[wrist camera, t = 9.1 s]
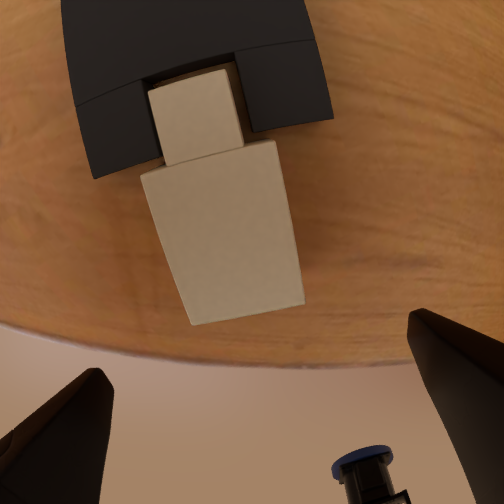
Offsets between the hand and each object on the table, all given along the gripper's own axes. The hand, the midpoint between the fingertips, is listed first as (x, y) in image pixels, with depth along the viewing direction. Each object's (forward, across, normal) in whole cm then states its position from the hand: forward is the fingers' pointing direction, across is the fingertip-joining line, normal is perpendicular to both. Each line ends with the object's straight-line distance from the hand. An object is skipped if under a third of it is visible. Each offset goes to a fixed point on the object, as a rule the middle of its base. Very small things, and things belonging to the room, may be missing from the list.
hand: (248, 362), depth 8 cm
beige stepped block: (+10, +1, -3) cm, 10 cm away
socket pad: (+10, +1, -19) cm, 22 cm away
